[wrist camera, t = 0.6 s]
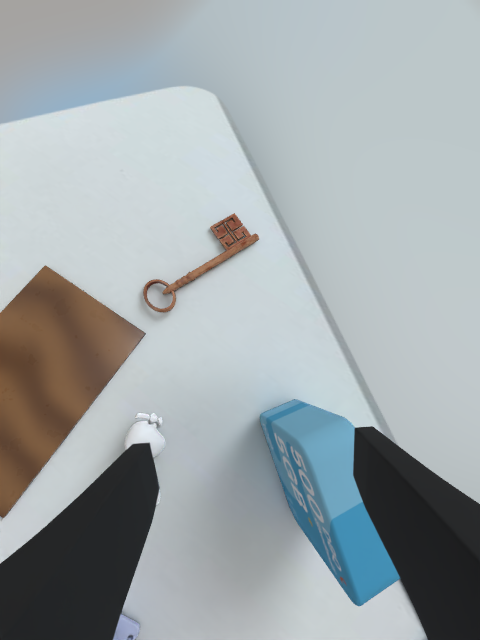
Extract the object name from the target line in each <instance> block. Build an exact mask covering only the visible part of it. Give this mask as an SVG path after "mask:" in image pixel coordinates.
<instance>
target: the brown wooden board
mask: <svg viewBox="0 0 480 640" xmlns="http://www.w3.org/2000/svg"><path fill="white" fill-rule="evenodd" d="M144 335H145V333H144V332H143V331H141V330H140V329H138V328H137V327H135V326H134V325H132V324H131V323H129V322H128V321H126V320H125V319H124V318H122V317H121V316H119V315H118V314H116V313H115V312H113V311H112V310H110V309H109V308H107V307H106V306H104V305H103V304H101V303H100V302H98V301H97V300H96V299H94V298H93V297H91V296H90V295H88V294H87V293H85V292H84V291H82V290H81V289H79V288H78V287H76V286H75V285H73V284H72V283H71V282H69V281H68V280H66V279H65V278H63V277H62V276H60V275H59V274H57V273H56V272H54V271H53V270H51V269H50V268H48V267H47V266H44V267H43V268H42V269H41V270H40V271H39V272H38V274H37V275H36V276H35V277H34V278H33V279H32V280H31V281H30V282H29V283H28V284H27V285H26V286H25V287H24V288H23V289H22V291H21V292H20V293H19V294H18V295H17V296H16V297H15V298H14V299H13V300H12V301H11V302H10V303H9V304H8V305H7V306H6V308H5V309H4V310H3V311H2V312H1V313H0V516H1V517H2V518H4V517H5V516H6V515H7V514H8V512H9V511H10V510H11V508H12V507H13V506H14V504H15V503H16V502H17V501H18V499H19V498H20V497H21V495H22V494H23V493H24V491H25V490H26V489H27V488H28V486H29V485H30V484H31V482H32V481H33V480H34V478H35V477H36V476H37V475H38V473H39V472H40V471H41V469H42V468H43V467H44V465H45V464H46V463H47V462H48V460H49V459H50V458H51V456H52V455H53V454H54V452H55V451H56V450H57V449H58V447H59V446H60V445H61V443H62V442H63V441H64V439H65V438H66V437H67V436H68V434H69V433H70V432H71V430H72V429H73V428H74V426H75V425H76V424H77V422H78V421H79V420H80V419H81V417H82V416H83V415H84V413H85V412H86V411H87V409H88V408H89V407H90V406H91V404H92V403H93V402H94V400H95V399H96V398H97V396H98V395H99V394H100V393H101V391H102V390H103V389H104V387H105V386H106V385H107V383H108V382H109V381H110V380H111V378H112V377H113V376H114V374H115V373H116V372H117V370H118V369H119V368H120V367H121V365H122V364H123V363H124V361H125V360H126V359H127V357H128V356H129V355H130V354H131V352H132V351H133V350H134V348H135V347H136V346H137V344H138V343H139V342H140V341H141V339H142V338H143V337H144Z"/></svg>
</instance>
